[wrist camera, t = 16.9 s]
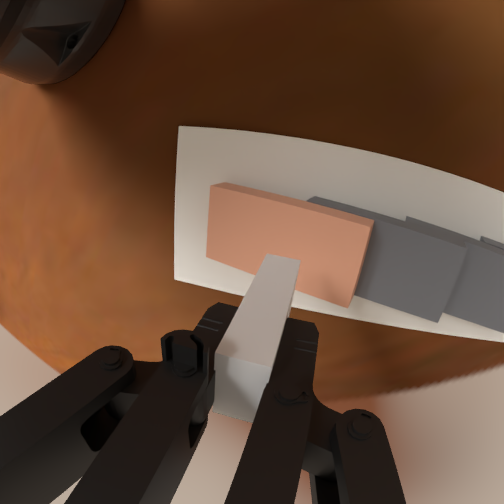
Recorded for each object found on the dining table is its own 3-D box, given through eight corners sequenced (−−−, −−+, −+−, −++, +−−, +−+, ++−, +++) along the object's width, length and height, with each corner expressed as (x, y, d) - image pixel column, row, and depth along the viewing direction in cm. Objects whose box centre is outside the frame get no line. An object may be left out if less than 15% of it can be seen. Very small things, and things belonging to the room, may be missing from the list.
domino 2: (384, 292, 19) (506, 334, 15) (405, 221, 17) (536, 269, 13) (386, 282, 20) (502, 322, 16) (406, 215, 18) (529, 260, 14)
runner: (176, 277, 25) (174, 279, 24) (181, 126, 20) (179, 126, 19) (504, 339, 19) (505, 342, 19) (555, 215, 14) (558, 216, 14)
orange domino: (205, 256, 21) (347, 308, 17) (210, 185, 19) (370, 227, 15) (219, 249, 22) (353, 296, 18) (224, 181, 20) (374, 220, 16)
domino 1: (293, 274, 20) (437, 323, 16) (306, 200, 18) (467, 249, 14) (301, 265, 21) (437, 310, 17) (314, 196, 19) (463, 240, 15)
